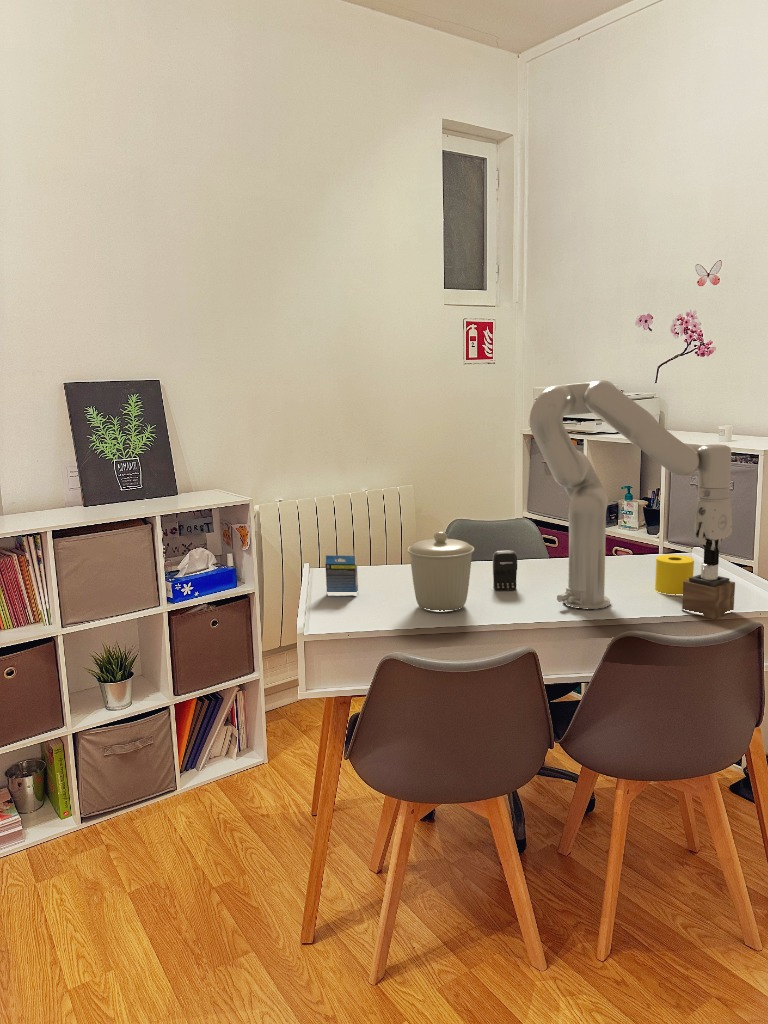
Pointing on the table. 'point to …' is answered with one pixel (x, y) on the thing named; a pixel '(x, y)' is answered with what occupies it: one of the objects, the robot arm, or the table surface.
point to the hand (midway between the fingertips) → (711, 563)
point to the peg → (709, 572)
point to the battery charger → (504, 570)
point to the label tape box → (341, 574)
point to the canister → (441, 572)
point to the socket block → (708, 596)
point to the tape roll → (673, 573)
